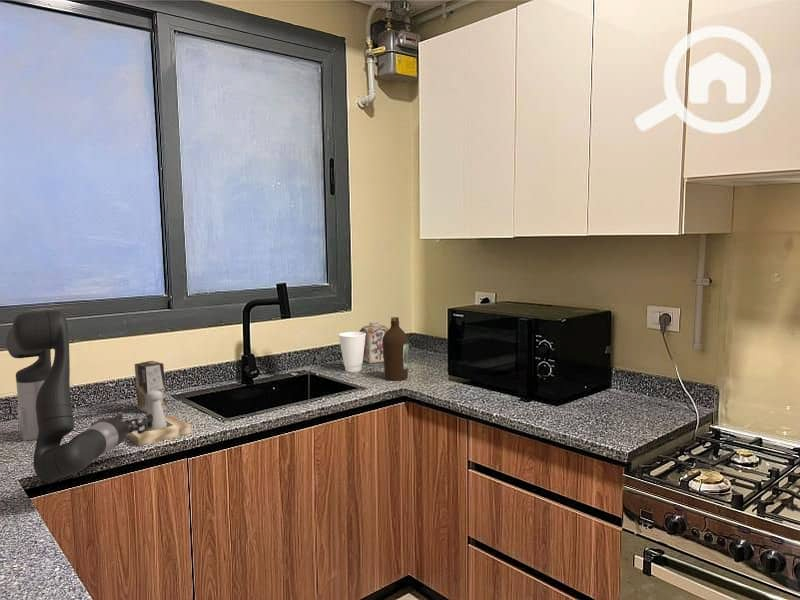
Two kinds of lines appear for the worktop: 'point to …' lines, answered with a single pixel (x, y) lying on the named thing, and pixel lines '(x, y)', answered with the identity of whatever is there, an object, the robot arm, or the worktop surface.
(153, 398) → the salt shaker
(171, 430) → the bore housing
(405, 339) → the olive oil
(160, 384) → the coffee box
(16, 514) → the worktop surface
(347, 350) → the cup
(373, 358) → the decorative jar
